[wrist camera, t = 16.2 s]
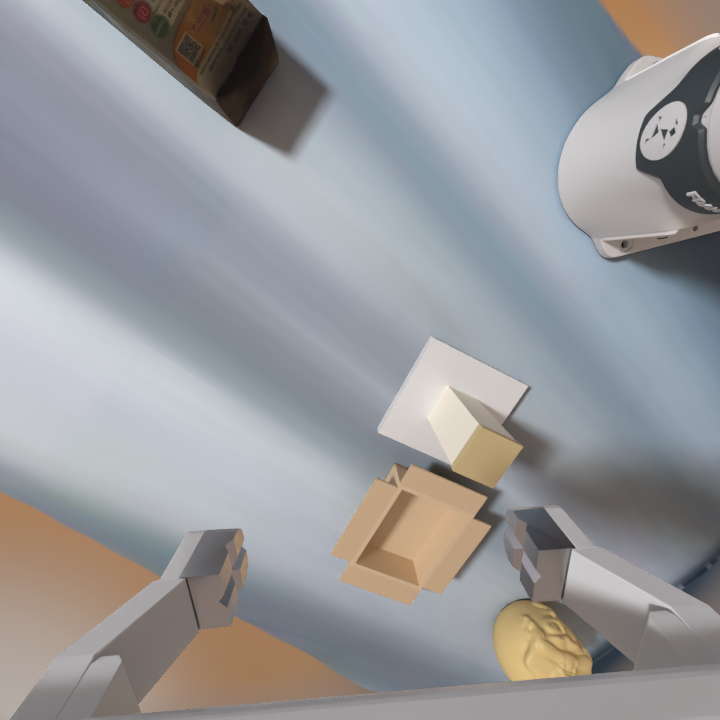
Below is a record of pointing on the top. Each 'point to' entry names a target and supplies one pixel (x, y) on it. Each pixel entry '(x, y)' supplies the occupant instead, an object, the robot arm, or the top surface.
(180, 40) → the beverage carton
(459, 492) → the carton
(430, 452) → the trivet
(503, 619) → the sculpture
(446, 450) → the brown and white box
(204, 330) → the top surface
